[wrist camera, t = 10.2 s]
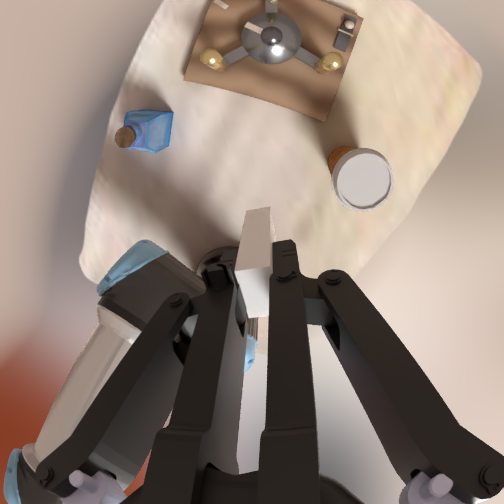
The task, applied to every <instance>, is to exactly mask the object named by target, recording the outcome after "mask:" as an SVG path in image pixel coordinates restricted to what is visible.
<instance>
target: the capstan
mask: <svg viewBox="0 0 504 504" xmlns="http://www.w3.org/2000/svg"><path fill="white" fill-rule="evenodd" d="M265 8H266V13H263V14H259V15H257V16H255V17H253V18H251V19H250V20H249V21H248V22H247V23H246V24H245V26H244V28H243V30H242V35H241V39H242V44H243V46H241V47H239V48H237V49H235V50H233V51H231V52H229V53H228V54H226V55H224V56H222V55H221V54H219V53H218V52H217V51H216V50H215V49H212V48H208V49H205V50H203V51H202V53H201V54H200V61H201V62H202V63H203V64H205V65H207V66H209V67H210V68H212V69H214V70H216V71H218V72H224V71H226V70H227V69H228V67H229V66H231V65H233V64H235V63H236V62H238V61H240V60H242V59H244V58H246V57H248V56H251V57H252V58H253V59H255V60H256V61H258V62H261V63H264V64H271V65H272V64H281V63H284V62H286V61H288V60H290V59H291V58H293V57H295V58H297V59H298V60H300V61H302V62H303V63H305V64H307V65H308V66H310V67H312V68H313V69H314V70H315V72H316V73H318V74H320V75H324V74H326V73H329V72H331V71H333V70H336V69H338V68H340V67H342V66H343V64H344V59H343V57H342V55H341V54H340V53H338V52H329V53H328V54H326V55H325V56H324V57H323V58H321V59H320V58H318V57H317V56H315V55H313V54H312V53H310V52H308V51H307V50H305V49H303V48H302V47H300V46H301V42H302V35H301V31H300V29H299V27H298V26H297V24H296V23H295V22H294V21H293V20H292V19H290V18H289V17H287V16H285V15H282V14H279V13H278V11H277V0H265Z"/></svg>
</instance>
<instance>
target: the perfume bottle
mask: <svg viewBox="0 0 504 504" xmlns="http://www.w3.org/2000/svg"><path fill="white" fill-rule="evenodd" d="M173 113H174V112H163V111H151V110H138V111H132V112H126V116H125V120H124V127H122V128H120V129H119V130H118V131H117V132H116V135H115V141H116V144H117V145H118V146H119V147H121V148H123V149H131V150H140V151H148V152H158V151H160V150H162V149H164V148H166V147H168V146H169V141H170V134H171V126H172V119H173Z"/></svg>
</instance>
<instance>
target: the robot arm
mask: <svg viewBox="0 0 504 504" xmlns="http://www.w3.org/2000/svg"><path fill="white" fill-rule="evenodd" d="M96 290H97V293H98V295H99V296H102V298H101V299H100V301H99V302H98V304H97V306H96V309H97V315H98V323H97V325H96V326H95V328H94V330H93V332H92V333H91V335H90V337H89V338H88V340H87V342H86V344H85V345H84V347H83V349H82V351H81V352H80V354H79V356H78V358H77V359H76V361H75V363H74V365H73V367H72V369H71V370H70V372H69V374H68V376H67V378H66V380H65V382H64V384H63V386H62V388H61V390H60V392H59V394H58V396H57V398H56V400H55V402H54V404H53V406H52V408H51V410H50V412H49V414H48V416H47V419H46V421H45V423H44V425H43V427H42V430H41V432H40V435H39V437H38V439H37V441H36V444H27V445H25V446H24V447H23V450H21V449H17V448H16V449H14V450H13V451H12V453H11V455H10V458H9V461H8V466H7V471H6V474H5V480H4V496H5V499H6V501H7V502H8V504H364V503H363V502H362V501H360V500H359V499H358V498H357V497H356V496H355V495H353V494H352V493H351V492H350V491H349V490H348V489H347V488H346V487H344V486H343V485H342V484H341V483H339V482H337V481H336V480H334V479H332V478H330V477H328V476H326V475H323V474H320V468H319V451H318V434H317V420H316V409H315V396H314V385H313V375H312V364H311V355H310V346H309V337H308V328H307V324H311V325H321V326H322V329H323V331H324V333H325V335H326V337H327V339H328V340H329V342H330V344H331V346H332V348H333V350H334V352H335V354H336V355H337V357H338V359H339V361H340V363H341V365H342V367H343V369H344V371H345V373H346V375H347V376H348V378H349V380H350V382H351V384H352V386H353V388H354V390H355V392H356V394H357V396H358V397H359V400H360V402H361V403H362V405H363V407H364V409H365V411H366V413H367V415H368V417H369V419H370V421H371V423H372V425H373V427H374V429H375V431H376V433H377V435H378V437H379V439H380V441H381V443H382V445H383V447H384V449H385V451H386V454H387V456H388V457H389V460H390V462H391V464H392V465H393V467H394V469H395V471H396V472H397V474H398V475H399V476H400V477H401V479H402V480H403V482H404V483H405V484H406V486H405V487H404V489H403V490H402V492H401V494H400V497H399V504H478V503H480V502H483V501H485V500H487V499H490V498H491V497H493V496H495V495H497V494H498V493H499V492H500V491H501V490H502V488H503V487H504V456H503V455H502V454H500V453H499V452H497V451H496V450H494V449H493V448H492V447H490V446H489V445H487V444H486V443H484V442H483V441H482V440H480V439H479V438H477V437H476V436H474V435H473V434H472V433H470V432H469V431H467V430H466V429H465V428H463V427H462V426H460V425H459V423H458V422H457V420H456V419H455V417H454V416H453V414H452V412H451V411H450V409H449V408H448V406H447V405H446V403H445V402H444V401H443V399H442V397H441V396H440V395H439V393H438V392H437V390H436V389H435V387H434V386H433V384H432V383H431V382H430V380H429V379H428V377H427V376H426V374H425V373H424V372H423V370H422V369H421V367H420V366H419V365H418V363H417V362H416V361H415V359H414V358H413V356H412V355H411V354H410V352H409V351H408V350H407V348H406V347H405V346H404V344H403V343H402V342H401V340H400V339H399V338H398V337H397V335H396V334H395V332H394V331H393V330H392V328H391V327H390V326H389V325H388V323H387V322H386V321H385V319H384V318H383V317H382V316H381V314H380V313H379V312H378V311H377V309H376V308H375V307H374V306H373V304H372V303H371V302H370V301H369V299H368V298H367V297H366V296H365V294H364V293H363V292H362V291H361V289H360V288H359V287H358V286H357V285H356V283H355V282H354V281H353V280H352V279H351V277H350V276H349V275H348V274H347V273H346V272H344V271H342V270H335V269H333V270H327V271H325V272H323V273H321V274H320V275H319V276H318V279H313V278H308V277H305V276H304V275H302V274H301V273H300V269H299V263H298V256H297V250H296V244H295V243H294V242H293V241H292V240H291V239H290V240H284V241H278V242H277V239H276V234H275V229H274V224H273V219H272V214H271V210H270V207H266V208H260V209H255V210H249V211H246V214H245V219H244V224H243V229H242V234H241V240H240V245H239V248H237V247H223V248H219V249H216V250H213V251H211V252H210V253H208V254H207V255H206V256H205V257H204V258H203V259H202V260H201V262H200V264H199V267H198V269H197V272H196V273H194V272H193V271H192V270H190V269H189V268H188V267H186V266H185V265H184V264H182V263H181V262H180V261H179V260H177V259H176V258H175V257H173V256H172V255H171V254H170V253H169V251H165V250H164V249H162V248H161V247H159V246H158V245H156V244H155V243H153V242H152V241H150V240H141V241H139V242H137V243H136V244H134V245H133V246H132V247H131V248H130V249H129V250H128V251H127V252H126V253H125V254H124V255H123V256H122V257H121V258H120V259H119V260H118V261H117V262H116V263H115V264H114V266H113V267H112V268H111V269H110V270H109V271H108V273H107V274H106V275H105V277H104V278H103V279H102V280H101V282H100V283H99V284H98V286H97V289H96ZM263 316H269V326H268V365H267V396H266V423H265V429H264V431H263V432H262V434H261V439H260V453H259V470H258V471H253V472H249V473H245V474H239V468H238V463H237V459H236V452H237V441H238V430H239V420H240V409H241V397H242V387H243V376H244V372H246V371H247V370H248V369H249V368H250V367H251V366H252V364H253V362H254V358H255V352H256V349H257V332H258V317H263ZM172 409H173V410H172ZM171 411H172V415H171V418H170V422H169V425H168V426H167V427H166V428H163V426H164V424H165V422H166V420H167V418H168V416H169V414H170V412H171ZM151 449H152V451H151V455H150V459H149V463H148V467H147V472H146V475H145V480H144V484H143V485H142V486H141V487H139V488H138V489H137V490H136V491H134V492H133V493H132V494H131V495H129V496H128V497H127V496H126V494H124V493H123V491H124V490H125V489H126V488H127V487H128V486H129V485H130V484H131V482H132V481H133V480H134V478H135V477H136V476H137V474H138V472H139V471H140V469H141V467H142V466H143V464H144V462H145V460H146V458H147V456H148V454H149V452H150V450H151Z"/></svg>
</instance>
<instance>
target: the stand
mask: <svg viewBox="0 0 504 504" xmlns="http://www.w3.org/2000/svg"><path fill="white" fill-rule="evenodd" d="M277 11H278V13H279V14H282V15H285V16H287V17H289V18H290V19H292V20H293V21H294V22H295V23H296V24H297V26H298V27H299V29H300V31H301V35H302V42H301V46H300V47H302V48H303V49H305V50H307V51H308V52H310V53H312V54H313V55H315V56H317V57H318V58H320V59H321V58H323V57H324V56H325V55H326V54H328V53H329V52H338V53H340V54H341V55H342V57H343V59H344V64H343V66H342V67H340V68H338V69H336V70H333V71H331V72H329V73H326V74H324V75H320V74H318V73H316V72H315V70H314V69H313V68H312V67H310V66H308V65H307V64H305V63H303V62H302V61H300V60H298V59H297V58H295V57H293V58H291V59H290V60H288V61H286V62H284V63H281V64H272V65H271V64H264V63H261V62H258V61H256V60H255V59H253V58H252V57H251V56H248V57H246V58H244V59H242V60H240V61H238V62H236V63H235V64H233V65H231V66H229V67H228V69H227V70H226V71H224V72H218V71H216V70H214V69H212V68H210V67H209V66H207V65H205V64H203V63H202V62H201V61H200V54H201V53H202V51H203V50H205V49H208V48H212V49H215V50H216V51H217V52H218V53H219V54H221V55H222V56H224V55H226V54H228V53H229V52H231V51H233V50H235V49H237V48H239V47H241V46H243V44H242V39H241V35H242V30H243V28H244V26H245V24H246V23H247V22H248V21H249V20H250V19H251V18H253V17H255V16H257V15H259V14H263V13H266V8H265V0H212V2H211V4H210V6H209V9H208V11H207V14H206V16H205V19H204V21H203V24H202V27H201V29H200V32H199V35H198V37H197V40H196V43H195V46H194V49H193V52H192V55H191V58H190V61H189V64H188V67H187V70H186V73H185V76H184V80H185V81H190V82H195V83H199V84H204V85H208V86H213V87H217V88H221V89H225V90H229V91H233V92H237V93H240V94H244V95H247V96H251V97H254V98H257V99H261V100H264V101H267V102H270V103H273V104H276V105H280V106H282V107H285V108H288V109H291V110H294V111H297V112H299V113H302V114H305V115H308V116H310V117H313V118H315V119H318V120H320V121H323V122H325V121H326V119H327V116H328V114H329V111H330V108H331V106H332V103H333V101H334V98H335V95H336V93H337V90H338V87H339V85H340V82H341V79H342V77H343V74H344V71H345V68H346V66H347V63H348V60H349V58H350V55H351V52H352V49H353V47H354V44H355V41H356V38H357V35H358V33H359V30H360V27H361V24H362V21H363V19H364V18H362V17H359V16H357V15H355V14H353V13H351V12H348V11H346V10H344V9H341V8H339V7H336V6H334V5H331V4H329V3H326V2H323V1H321V0H277Z"/></svg>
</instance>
